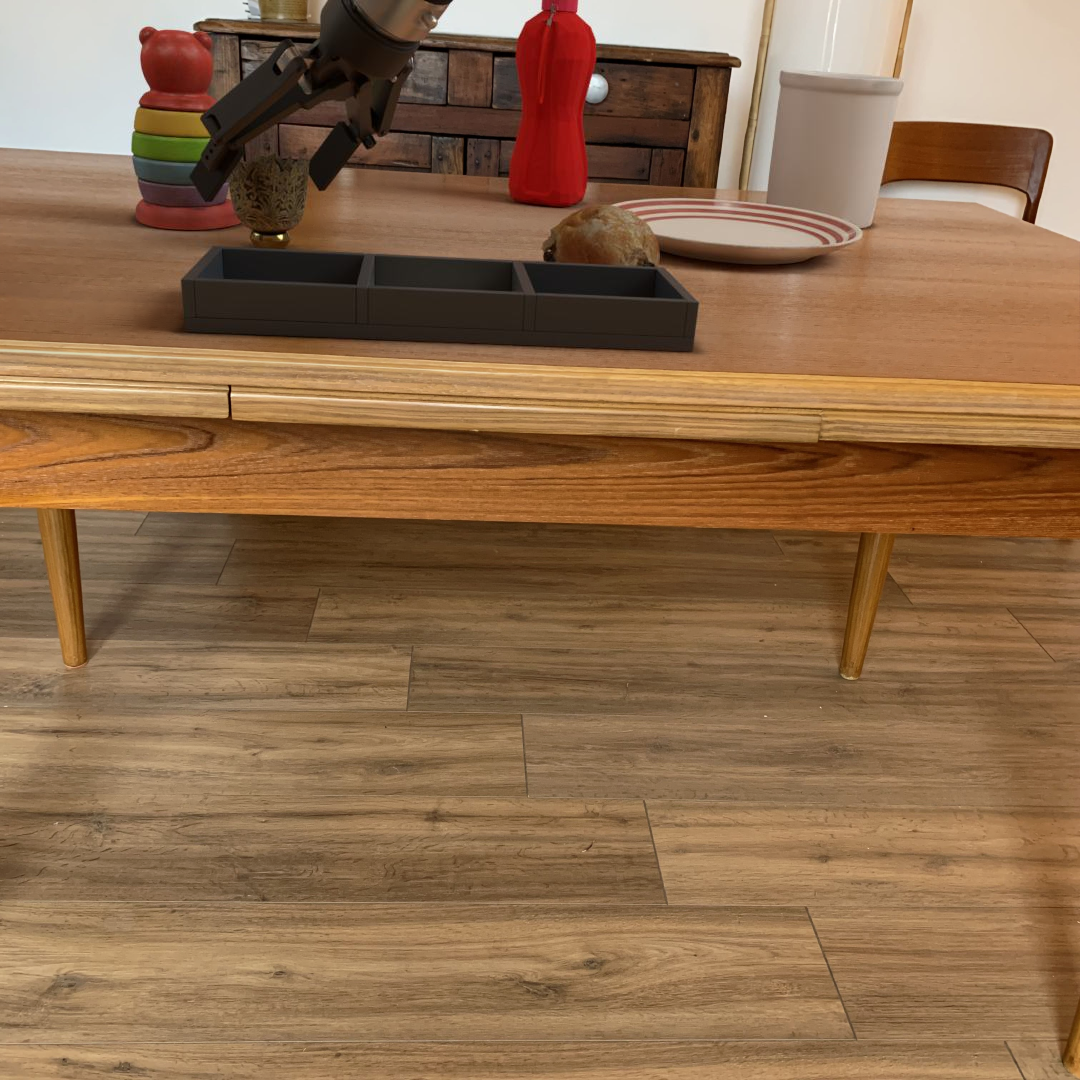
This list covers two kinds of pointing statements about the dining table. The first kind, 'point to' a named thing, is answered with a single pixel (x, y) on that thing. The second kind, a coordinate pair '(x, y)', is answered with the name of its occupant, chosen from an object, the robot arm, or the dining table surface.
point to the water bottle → (552, 106)
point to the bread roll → (602, 239)
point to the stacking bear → (175, 133)
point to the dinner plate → (741, 230)
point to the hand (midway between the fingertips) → (260, 184)
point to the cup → (269, 197)
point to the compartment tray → (437, 299)
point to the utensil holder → (832, 142)
